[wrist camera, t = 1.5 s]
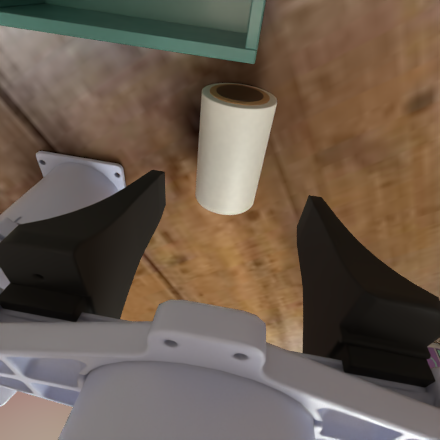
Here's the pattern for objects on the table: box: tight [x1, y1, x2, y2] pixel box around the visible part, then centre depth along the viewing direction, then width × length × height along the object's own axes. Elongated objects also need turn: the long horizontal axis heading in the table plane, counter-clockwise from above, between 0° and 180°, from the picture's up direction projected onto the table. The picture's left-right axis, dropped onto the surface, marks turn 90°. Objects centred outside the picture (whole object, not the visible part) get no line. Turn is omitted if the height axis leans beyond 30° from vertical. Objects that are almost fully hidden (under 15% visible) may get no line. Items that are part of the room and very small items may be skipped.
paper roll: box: [196, 83, 277, 215], centre depth 20 cm, size 8×5×5 cm
